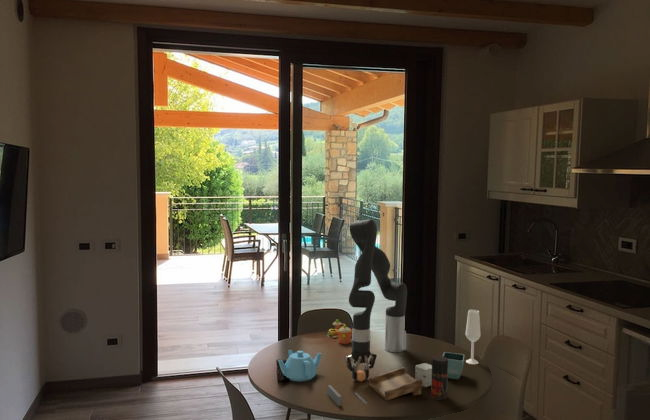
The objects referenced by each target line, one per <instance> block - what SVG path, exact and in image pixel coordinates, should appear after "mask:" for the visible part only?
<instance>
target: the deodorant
mask: <svg viewBox="0 0 650 420" xmlns="http://www.w3.org/2000/svg"><path fill="white" fill-rule="evenodd" d="M431 358H432V359H431V365H432V381H431V385H430V386H431V389H430V390H431V391H430V397H431V398H432V399H434V400H438V401H444V400H446V399H447V398H448V378H447V377H448V358H446V357H443V355H435V356H432V357H431Z"/></svg>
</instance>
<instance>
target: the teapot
mask: <svg viewBox="0 0 650 420" xmlns="http://www.w3.org/2000/svg"><path fill="white" fill-rule="evenodd" d="M287 353H288V358H287V359H286V362H284V361H283V360H282V359H278V360H277V362H278V364H279V368H280V370H281V372H282V374H283V376H284V377H285V376H286V377H287V378H289V379H290V380H289V379H288V380H289V381H292V382H306V381H311V380H312V379H313V378H315V376H316V375H317V370H318V368H319V364H320V360H321V358H322V353H321V352H317V354H316V355H315V357H314V359H313V357H312V356H311V355H310V354H309V353H307V352H304V350H297V351H296V352H293V350H292V349H288V352H287ZM286 377H285V378H286ZM287 378H286V379H287Z"/></svg>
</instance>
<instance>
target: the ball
mask: <svg viewBox="0 0 650 420" xmlns="http://www.w3.org/2000/svg"><path fill="white" fill-rule="evenodd" d="M356 372H357V381H358V382H363V381H365V380H366V379H365V378H366V374H365V372H364V370H362V369H361V370H360V369H359V370H357V371H356Z"/></svg>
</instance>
